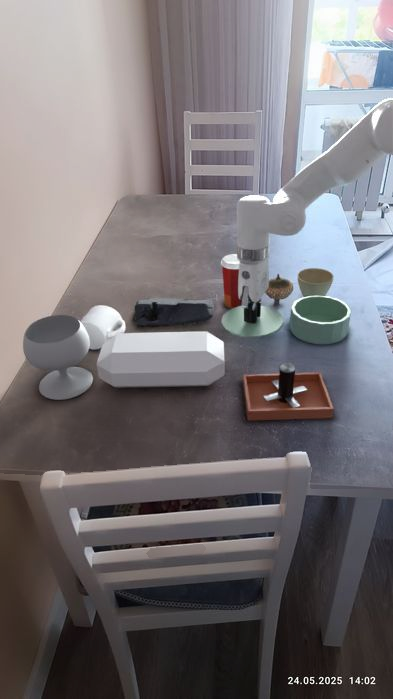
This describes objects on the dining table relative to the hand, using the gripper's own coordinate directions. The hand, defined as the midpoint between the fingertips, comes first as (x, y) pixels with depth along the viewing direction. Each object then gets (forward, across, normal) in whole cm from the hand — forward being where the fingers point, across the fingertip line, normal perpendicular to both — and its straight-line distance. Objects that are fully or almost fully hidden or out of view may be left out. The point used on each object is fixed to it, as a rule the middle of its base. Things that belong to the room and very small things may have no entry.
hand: (252, 318), depth 123 cm
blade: (+4, -22, -15) cm, 28 cm away
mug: (+4, -17, +34) cm, 39 cm away
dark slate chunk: (+4, +1, +23) cm, 24 cm away
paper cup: (+5, +13, +10) cm, 17 cm away
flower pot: (+5, +25, -10) cm, 27 cm away
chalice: (+4, -36, +32) cm, 49 cm away
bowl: (+5, +8, -15) cm, 18 cm away
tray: (+5, -22, -15) cm, 28 cm away
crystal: (+4, -25, +13) cm, 28 cm away
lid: (+1, 0, 0) cm, 1 cm away
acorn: (+5, +16, -2) cm, 17 cm away
